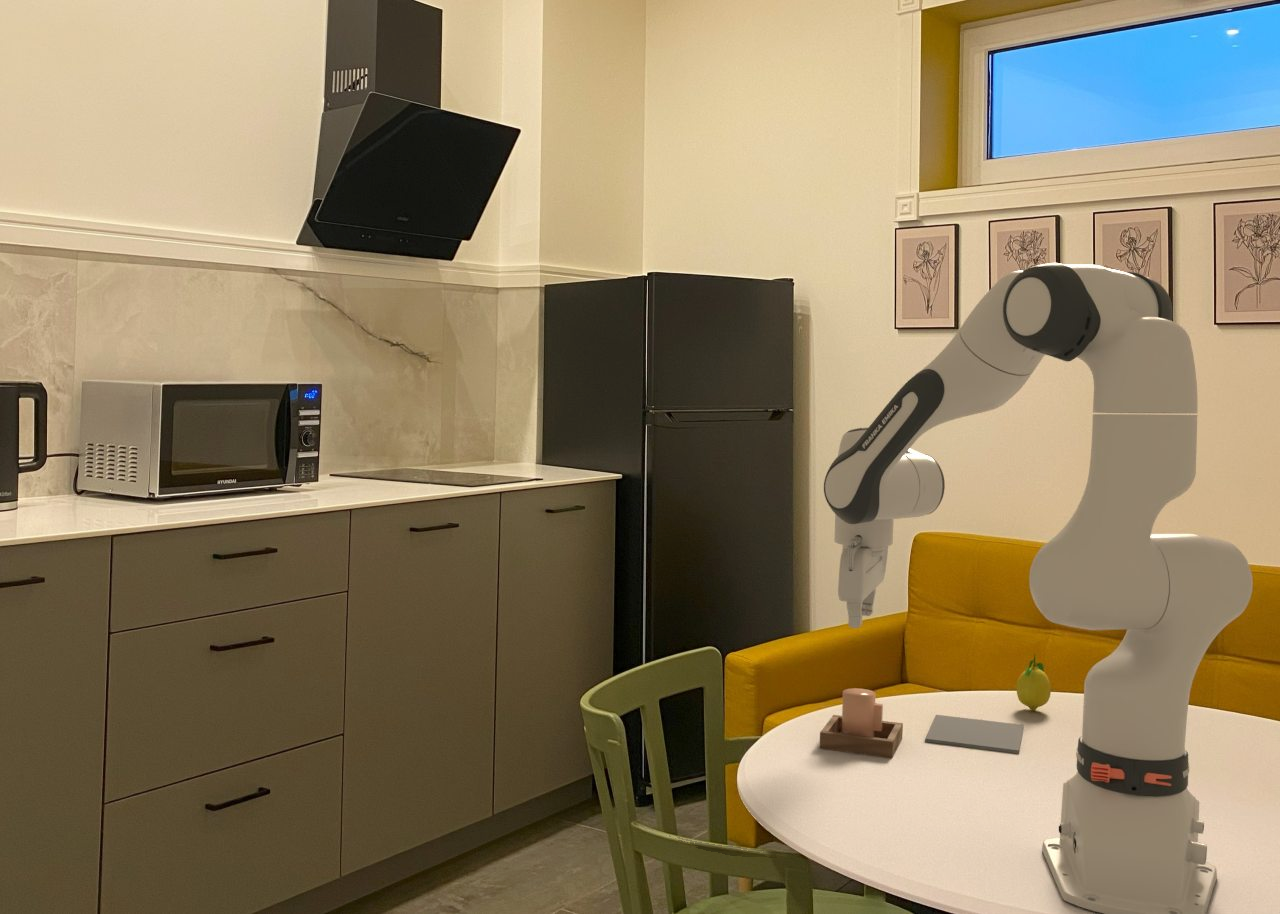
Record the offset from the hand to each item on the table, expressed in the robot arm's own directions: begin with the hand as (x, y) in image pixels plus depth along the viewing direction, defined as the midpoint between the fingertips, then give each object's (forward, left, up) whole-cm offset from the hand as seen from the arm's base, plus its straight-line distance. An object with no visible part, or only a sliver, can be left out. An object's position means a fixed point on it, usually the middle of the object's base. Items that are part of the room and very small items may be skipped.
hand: (860, 620), depth 176 cm
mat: (+12, -17, -19) cm, 28 cm away
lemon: (+30, -25, -20) cm, 43 cm away
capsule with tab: (0, 0, -19) cm, 19 cm away
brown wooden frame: (0, -1, -19) cm, 19 cm away
